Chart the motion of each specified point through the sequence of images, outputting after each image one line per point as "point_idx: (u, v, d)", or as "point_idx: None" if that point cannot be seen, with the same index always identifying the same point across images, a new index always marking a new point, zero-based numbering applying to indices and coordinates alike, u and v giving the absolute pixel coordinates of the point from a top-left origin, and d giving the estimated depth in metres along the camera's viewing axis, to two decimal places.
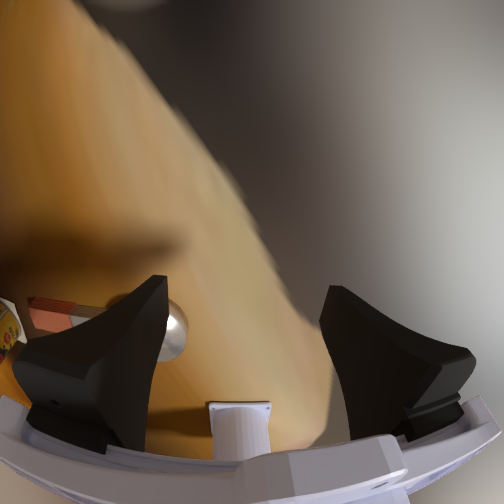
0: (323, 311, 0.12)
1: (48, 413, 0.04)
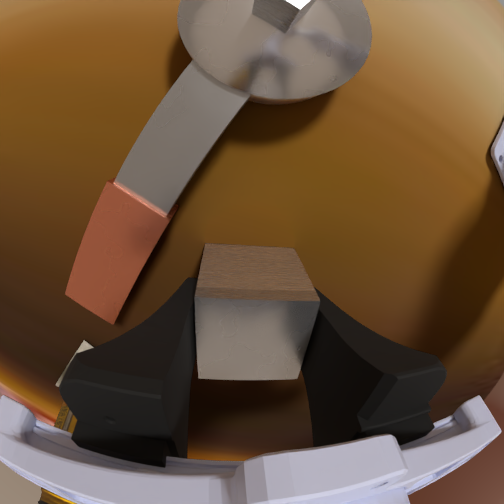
0: None
1: (97, 430, 0.04)
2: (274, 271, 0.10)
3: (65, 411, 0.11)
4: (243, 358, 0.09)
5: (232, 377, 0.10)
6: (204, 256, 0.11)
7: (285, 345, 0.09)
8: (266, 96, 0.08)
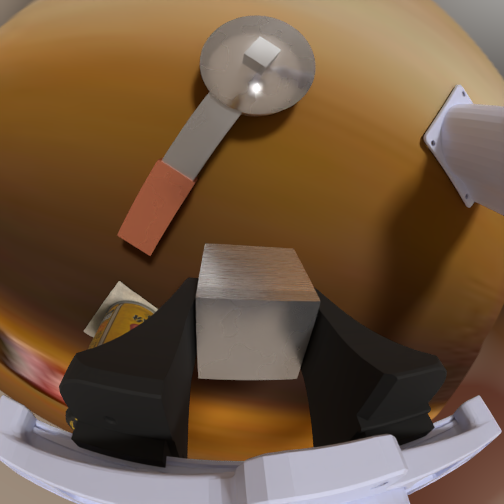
0: None
1: (97, 430, 0.04)
2: (274, 271, 0.10)
3: (100, 334, 0.18)
4: (243, 358, 0.09)
5: (232, 377, 0.10)
6: (204, 256, 0.11)
7: (285, 345, 0.09)
8: (250, 113, 0.15)
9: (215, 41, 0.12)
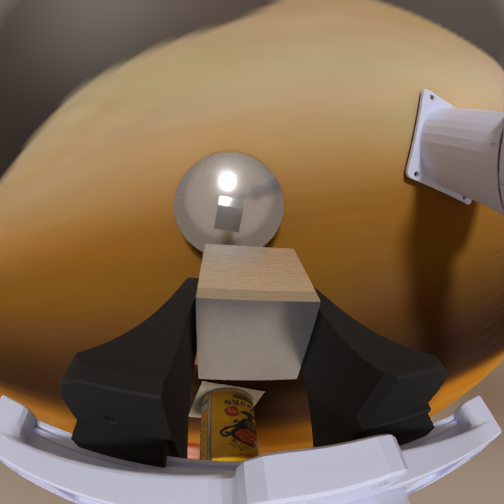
0: None
1: (97, 430, 0.04)
2: (275, 272, 0.10)
3: (205, 424, 0.23)
4: (243, 358, 0.09)
5: (232, 378, 0.10)
6: (204, 256, 0.11)
7: (285, 346, 0.09)
8: None
9: (181, 206, 0.17)
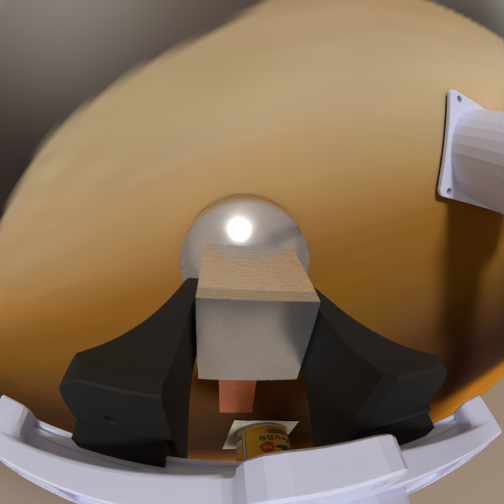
0: None
1: (97, 430, 0.04)
2: (275, 272, 0.10)
3: None
4: (243, 358, 0.09)
5: (232, 378, 0.10)
6: (204, 256, 0.11)
7: (285, 346, 0.09)
8: None
9: (190, 270, 0.14)
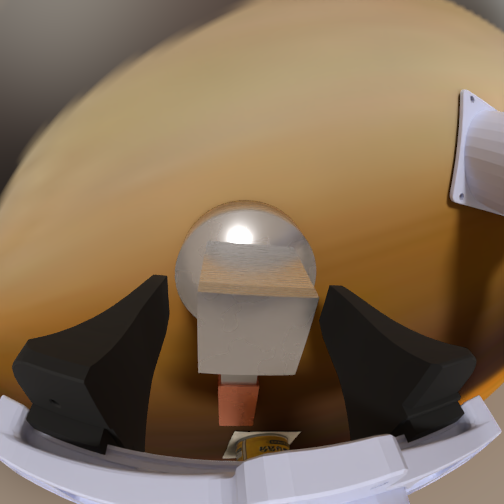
0: (323, 311, 0.12)
1: (48, 413, 0.04)
2: (274, 268, 0.10)
3: None
4: (243, 353, 0.10)
5: (232, 373, 0.10)
6: (206, 253, 0.11)
7: (284, 341, 0.10)
8: None
9: (186, 284, 0.13)
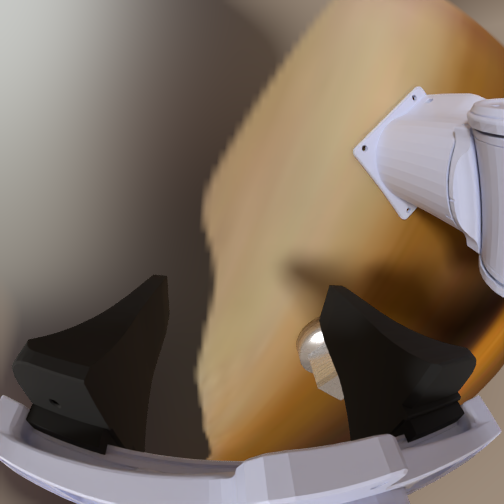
0: (323, 311, 0.12)
1: (48, 413, 0.04)
2: None
3: None
4: None
5: None
6: (311, 364, 0.23)
7: None
8: None
9: None
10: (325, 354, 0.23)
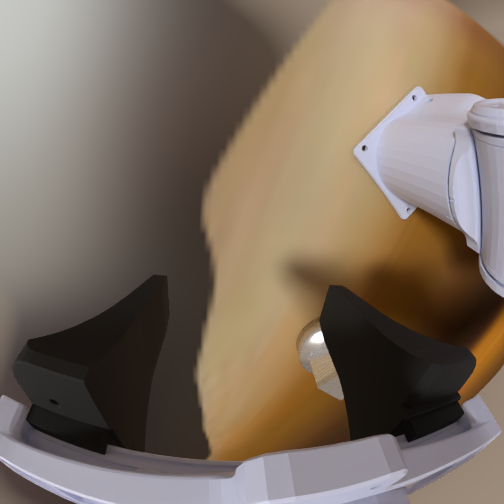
0: (323, 311, 0.12)
1: (48, 413, 0.04)
2: None
3: None
4: None
5: None
6: (311, 364, 0.23)
7: None
8: None
9: None
10: (325, 354, 0.23)
